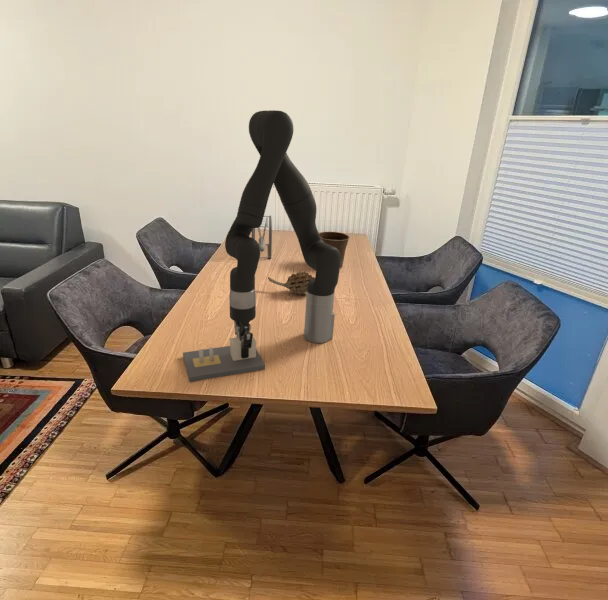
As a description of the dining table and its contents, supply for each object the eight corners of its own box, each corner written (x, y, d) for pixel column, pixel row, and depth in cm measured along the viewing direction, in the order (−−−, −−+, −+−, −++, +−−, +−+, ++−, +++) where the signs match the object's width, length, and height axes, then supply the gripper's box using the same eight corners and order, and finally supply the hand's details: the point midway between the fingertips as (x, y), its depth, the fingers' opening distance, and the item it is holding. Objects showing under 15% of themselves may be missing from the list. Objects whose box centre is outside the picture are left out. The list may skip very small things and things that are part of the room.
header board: (252, 346, 134) (252, 331, 132) (265, 369, 122) (265, 352, 120) (183, 356, 126) (182, 340, 124) (189, 382, 115) (188, 365, 112)
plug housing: (252, 350, 129) (252, 335, 127) (255, 357, 126) (255, 341, 123) (230, 354, 126) (229, 338, 124) (233, 360, 123) (232, 344, 121)
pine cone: (317, 290, 182) (318, 269, 178) (315, 299, 173) (316, 277, 169) (267, 286, 183) (268, 265, 179) (263, 294, 175) (264, 272, 171)
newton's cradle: (253, 243, 245) (253, 214, 237) (270, 244, 246) (271, 214, 238) (251, 259, 217) (251, 226, 210) (271, 260, 218) (272, 227, 211)
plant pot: (347, 271, 207) (350, 240, 201) (315, 270, 207) (317, 238, 201) (345, 261, 222) (348, 232, 215) (315, 260, 222) (317, 230, 215)
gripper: (262, 311, 114) (261, 363, 121) (248, 292, 126) (248, 341, 133) (235, 314, 111) (236, 368, 118) (224, 294, 123) (225, 344, 130)
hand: (243, 353), depth 126 cm, fingers closed on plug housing, 4 cm apart
